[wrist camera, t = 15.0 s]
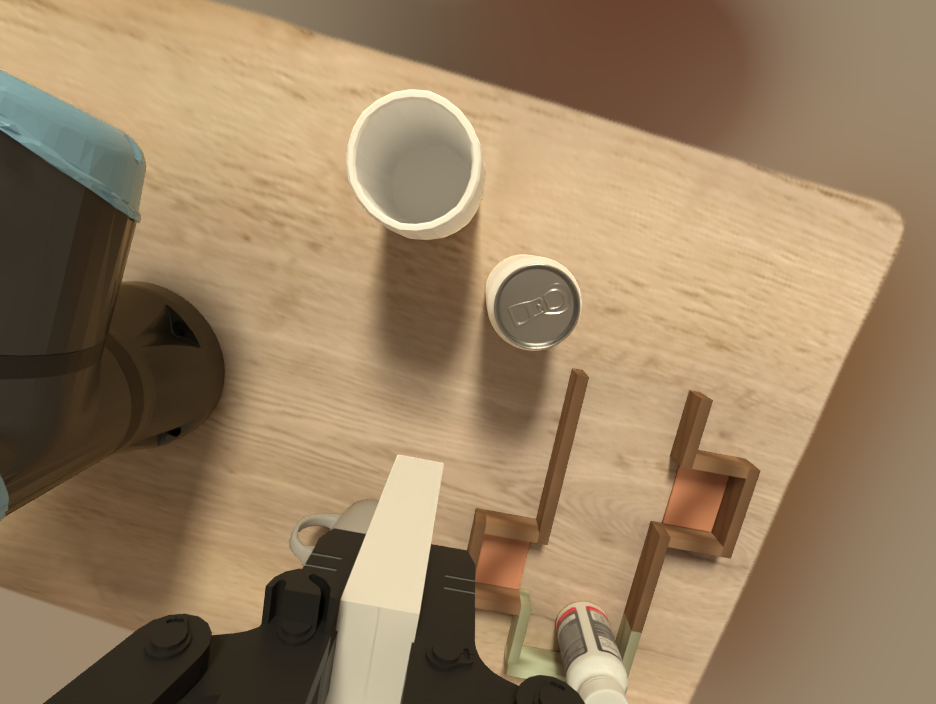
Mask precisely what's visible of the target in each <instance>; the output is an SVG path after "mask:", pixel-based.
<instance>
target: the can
mask: <svg viewBox="0 0 936 704" xmlns="http://www.w3.org/2000/svg"><path fill="white" fill-rule="evenodd" d="M485 298H486V306H487V312H488V316H489V319H490V322H491V324H492V326H493V328H494V330H495V331H496V332H497V334H498V335H499V336H500V337H501V338H502V339H503V340H504V341H506V342H507V343H509V344H510V345H512V346H514V347H516V348H519V349H523V350H529V351H537V350H544V349H548V348H550V347H553V346H555V345H557V344H559V343H560V342H562V341H563V340H564V339H565V338H567V337H568V336H569V334H570V333H571V332H572V331H573V329H574V328H575V326H576V324H577V322H578V320H579V317H580V313H581V306H582V299H581V293H580V289H579V286H578V284H577V282H576V280H575V278H574V277H573V275H572V274H571V273H570V272H569V271H568V270H567V269H566V268H565V267H564V266H563V265H561V264H560V263H558V262H556V261H554V260H552V259H549V258H545V257H540V256H534V255H523V254H522V255H515V256H511V257H508V258H506V259H504V260H503V261H501V262H500V263H499V264H497V265H496V266H495V268H494V269H493V270H492V272H491V273H490V275H489V277H488V280H487V283H486V288H485Z"/></svg>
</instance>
